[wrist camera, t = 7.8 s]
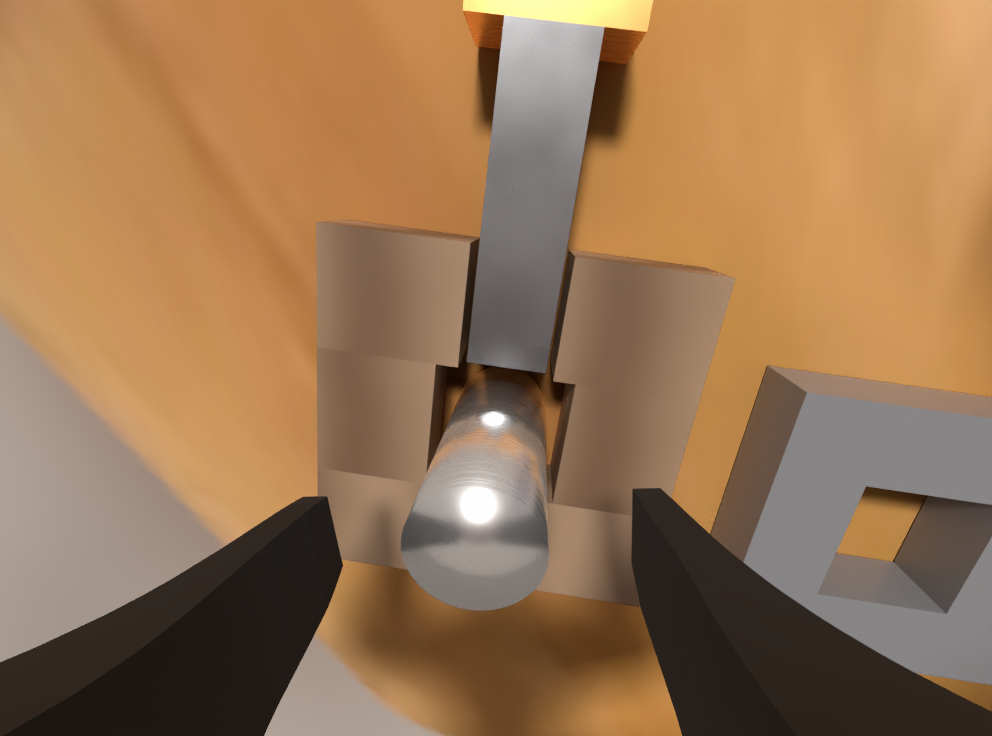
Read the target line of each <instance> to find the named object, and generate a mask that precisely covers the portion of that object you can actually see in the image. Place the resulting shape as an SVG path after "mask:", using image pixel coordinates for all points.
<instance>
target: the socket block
mask: <svg viewBox="0 0 992 736" xmlns="http://www.w3.org/2000/svg"><path fill="white" fill-rule="evenodd" d="M316 242H317V429H318V496H327V497H328V502H329V506H330V510H331V515H332V519H333V524H334V528H335V533H336V537H337V541H338V546H339V550H340V555H341V559H343V560H349V561H355V562H361V563H368V564H374V565H380V566H387V567H393V568H399V569H405V570H407V568H406V566H405V563H404V560H403V557H402V552H401V535H402V531H403V527H404V524H405V522H406V520H407V517H408V515H409V513H410V510H411V508H412V506H413V504H414V501H415V499H416V497H417V494H418V492H419V490H420V487H421V485H422V483H423V480H424V478H425V476H426V474H427V471H428V469H429V467H430V464H431V462H432V460H433V457H434V455H435V453H436V450H437V448H438V446H439V443H440V439H441V428H442V418H443V407H444V396H445V386H446V375H447V366H450V367H457V368H458V366H459V364H460V362H461V360H462V358H463V356H464V354H465V352H466V350H467V348H468V345H469V336H470V326H471V317H472V308H473V299H474V290H475V280H476V271H477V262H478V253H479V243H480V238H479V237H472V236H465V235H457V234H450V233H442V232H435V231H427V230H420V229H412V228H405V227H397V226H390V225H382V224H375V223H367V222H360V221H353V220H342V221H326V222H316ZM734 282H735V278H733V277H730V276H727V275H724V274H721V273H719V272H716V271H713V270H710V269H707V268H703V267H696V266H688V265H681V264H674V263H666V262H659V261H651V260H644V259H636V258H629V257H621V256H614V255H606V254H599V253H591V252H584V251H577V250H569V253H568V259H567V265H566V271H565V276H564V282H563V288H562V294H561V300H560V306H559V311H558V317H557V323H556V329H555V335H554V341H553V346H552V352H551V365H552V374H553V381H555V382H562V383H566V384H565V389H564V395H563V400H562V405H561V411H560V416H559V421H558V427H557V432H556V437H555V443H554V448H553V453H552V459H551V464H550V465H546V475H547V508H548V541H549V559H548V566H547V569H546V572H545V575H544V577H543V579H542V580H541V582H540V583H539V585H538V586H537V587H536V588H535V590H537V591H543V592H549V593H555V594H562V595H568V596H574V597H581V598H587V599H593V600H599V601H606V602H612V603H618V604H624V605H631V606H637V607H639V605H640V602H639V597H638V592H637V588H636V583H635V578H634V573H633V568H632V563H631V554H632V492H633V489H639V488H661V489H662V490H663V491H664V492H665V493H666V494H667V495H668V496H669V497H671V496H672V493H673V489H674V486H675V482H676V479H677V476H678V472H679V469H680V465H681V462H682V459H683V455H684V452H685V448H686V445H687V442H688V438H689V435H690V431H691V428H692V425H693V421H694V418H695V414H696V411H697V408H698V404H699V401H700V397H701V394H702V391H703V387H704V384H705V380H706V377H707V374H708V370H709V367H710V363H711V360H712V357H713V353H714V350H715V346H716V343H717V340H718V336H719V333H720V329H721V326H722V323H723V319H724V316H725V312H726V309H727V306H728V302H729V299H730V295H731V292H732V289H733V285H734Z"/></svg>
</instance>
